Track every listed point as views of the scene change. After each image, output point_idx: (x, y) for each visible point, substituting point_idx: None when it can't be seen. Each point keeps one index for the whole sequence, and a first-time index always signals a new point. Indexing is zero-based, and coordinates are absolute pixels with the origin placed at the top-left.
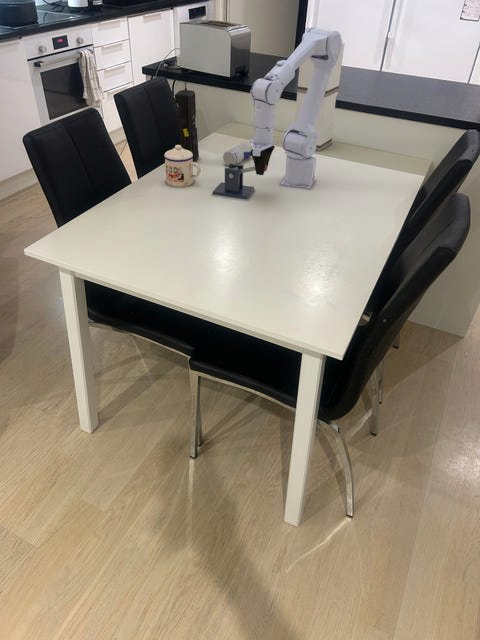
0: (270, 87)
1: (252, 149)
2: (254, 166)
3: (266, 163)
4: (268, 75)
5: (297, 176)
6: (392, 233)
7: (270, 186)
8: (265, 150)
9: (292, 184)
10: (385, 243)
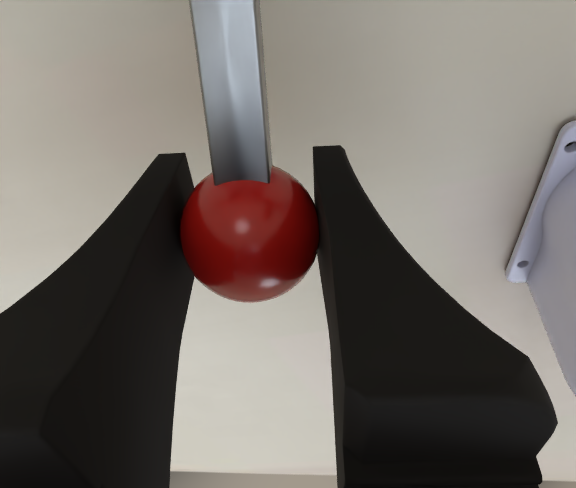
0: None
1: (27, 444)
2: (261, 133)
3: (324, 286)
4: None
5: (565, 270)
6: (186, 470)
7: (530, 44)
8: (339, 451)
9: (549, 199)
10: None
